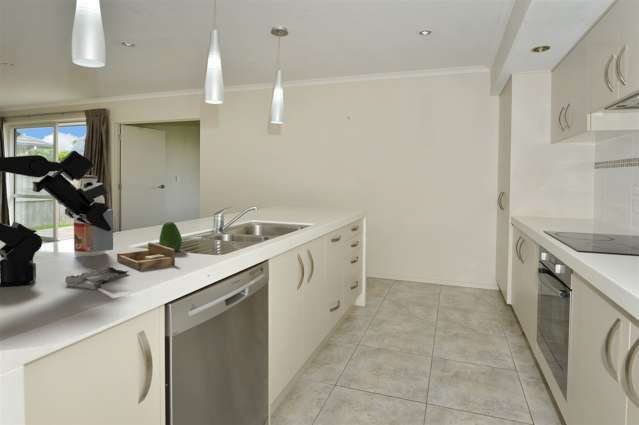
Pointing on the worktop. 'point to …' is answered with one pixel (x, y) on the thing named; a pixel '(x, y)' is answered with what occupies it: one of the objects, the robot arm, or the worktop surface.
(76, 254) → the fruit juice
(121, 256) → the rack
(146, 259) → the offcut
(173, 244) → the avocado
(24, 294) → the worktop surface
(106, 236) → the grey rectangular block
